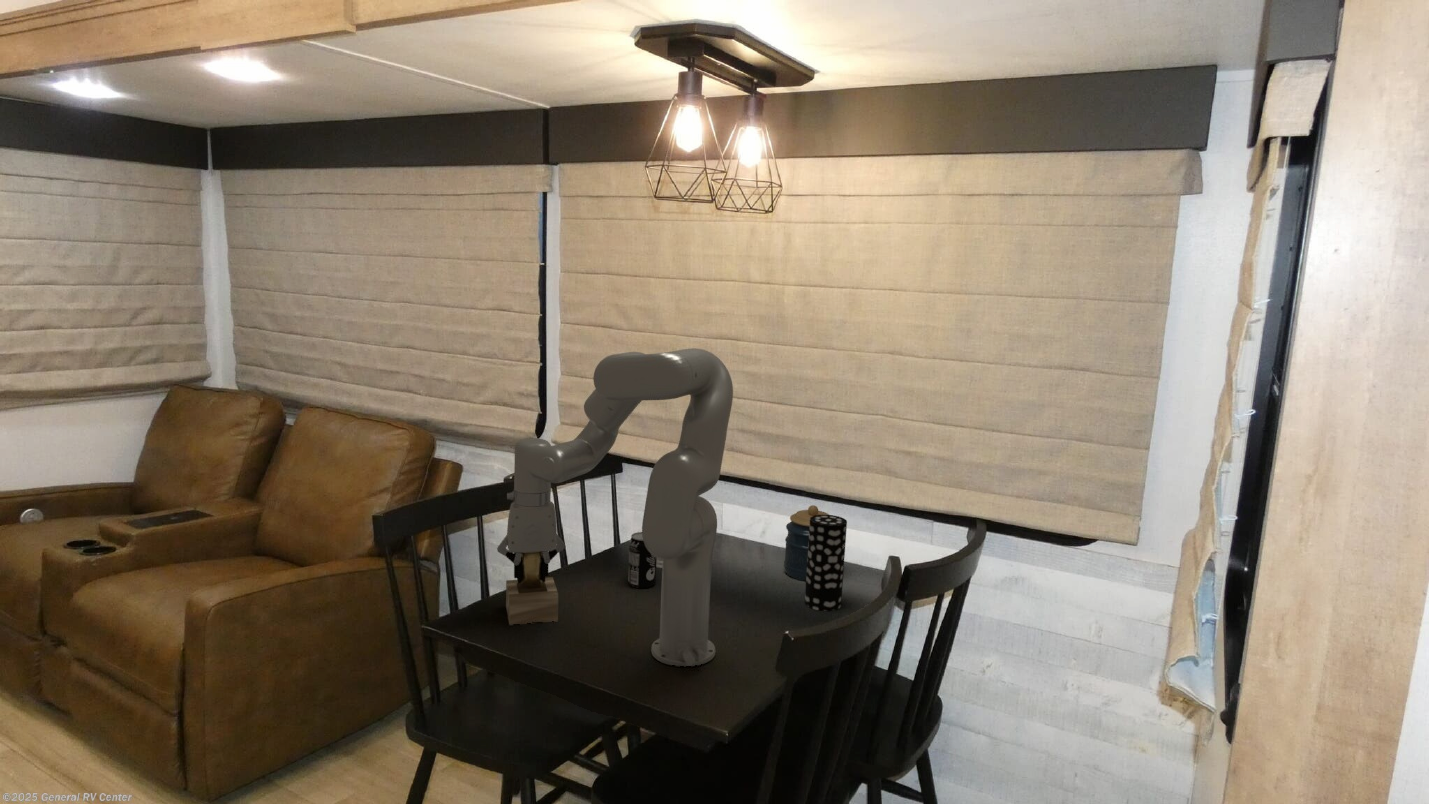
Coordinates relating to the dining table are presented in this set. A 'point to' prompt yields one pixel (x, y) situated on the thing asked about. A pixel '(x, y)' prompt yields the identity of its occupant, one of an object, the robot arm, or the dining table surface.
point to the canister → (799, 542)
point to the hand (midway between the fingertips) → (531, 579)
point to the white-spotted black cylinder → (825, 562)
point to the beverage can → (641, 563)
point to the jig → (531, 602)
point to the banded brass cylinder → (531, 570)
